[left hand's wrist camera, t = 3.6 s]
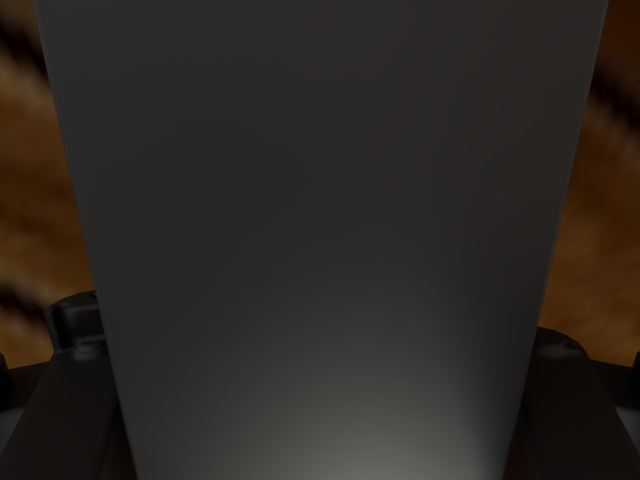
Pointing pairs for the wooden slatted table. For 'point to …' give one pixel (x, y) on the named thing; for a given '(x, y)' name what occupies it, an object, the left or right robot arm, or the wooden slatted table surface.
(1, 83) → the wooden slatted table surface
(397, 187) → the bar
